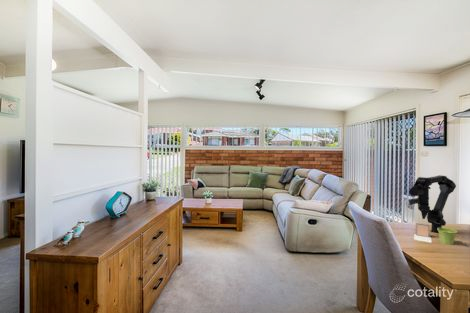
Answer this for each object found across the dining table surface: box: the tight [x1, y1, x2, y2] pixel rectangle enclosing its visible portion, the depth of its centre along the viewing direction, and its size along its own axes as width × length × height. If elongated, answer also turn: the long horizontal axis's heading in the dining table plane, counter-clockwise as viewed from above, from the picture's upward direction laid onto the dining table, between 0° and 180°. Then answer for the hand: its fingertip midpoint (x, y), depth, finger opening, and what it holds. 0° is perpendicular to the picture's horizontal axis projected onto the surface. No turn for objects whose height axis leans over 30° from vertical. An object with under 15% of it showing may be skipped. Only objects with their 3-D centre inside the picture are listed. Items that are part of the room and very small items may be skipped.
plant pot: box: [437, 227, 458, 246], centre depth 152 cm, size 9×9×9 cm
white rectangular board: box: [413, 233, 432, 244], centre depth 160 cm, size 14×9×1 cm, turn 142°
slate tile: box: [415, 223, 430, 237], centre depth 164 cm, size 2×7×8 cm, turn 52°
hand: (423, 217), depth 169 cm, fingers open, 8 cm apart
